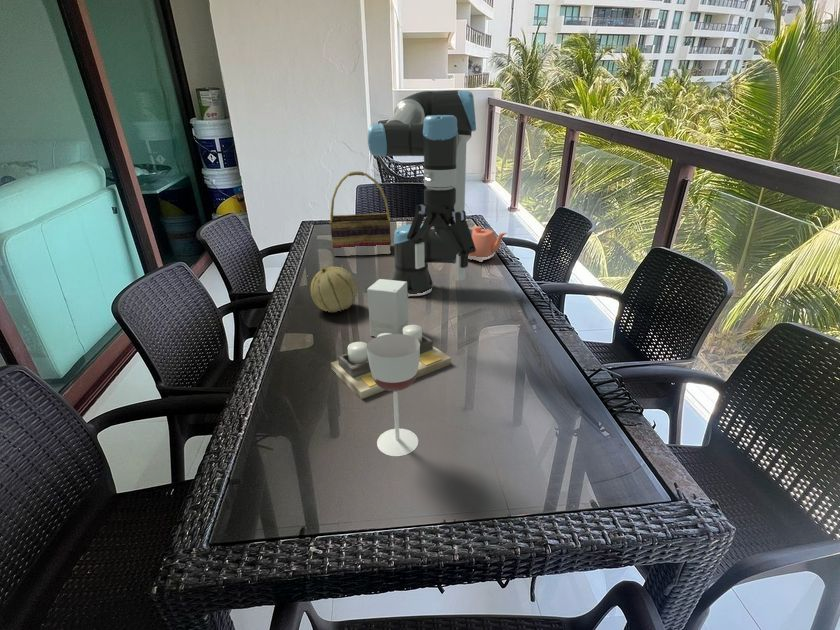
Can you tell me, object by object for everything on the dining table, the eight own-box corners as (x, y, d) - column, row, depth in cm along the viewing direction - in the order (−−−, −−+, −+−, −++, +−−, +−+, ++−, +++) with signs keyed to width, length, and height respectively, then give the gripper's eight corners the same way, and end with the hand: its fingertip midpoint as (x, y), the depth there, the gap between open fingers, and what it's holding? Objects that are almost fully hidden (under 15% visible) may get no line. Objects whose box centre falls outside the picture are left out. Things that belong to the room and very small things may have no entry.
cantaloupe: (367, 309, 151) (364, 265, 145) (331, 324, 141) (326, 278, 135) (339, 297, 160) (335, 256, 154) (303, 311, 150) (298, 267, 144)
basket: (332, 257, 201) (323, 174, 186) (333, 248, 214) (326, 170, 200) (392, 255, 204) (389, 172, 189) (390, 245, 217) (387, 168, 202)
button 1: (345, 357, 114) (344, 345, 113) (363, 352, 117) (362, 339, 115) (354, 366, 110) (353, 353, 109) (372, 360, 113) (371, 347, 112)
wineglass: (373, 429, 96) (367, 335, 86) (419, 426, 96) (417, 332, 87) (373, 458, 88) (366, 358, 79) (423, 455, 89) (422, 355, 79)
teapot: (505, 263, 191) (507, 230, 185) (463, 267, 187) (463, 234, 181) (489, 251, 207) (491, 220, 201) (450, 254, 203) (450, 223, 197)
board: (331, 369, 117) (329, 354, 115) (415, 340, 131) (415, 326, 129) (361, 399, 105) (360, 382, 103) (450, 364, 119) (451, 349, 117)
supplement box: (409, 327, 138) (408, 281, 132) (398, 341, 131) (396, 292, 124) (381, 323, 141) (379, 277, 135) (369, 336, 133) (366, 288, 127)
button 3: (399, 339, 122) (399, 328, 121) (415, 334, 125) (414, 323, 123) (410, 347, 119) (409, 335, 117) (425, 341, 121) (425, 329, 120)
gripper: (391, 183, 113) (394, 266, 122) (472, 195, 97) (469, 289, 106) (412, 180, 118) (414, 259, 127) (493, 190, 102) (488, 280, 111)
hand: (439, 273), depth 116 cm, fingers open, 13 cm apart
